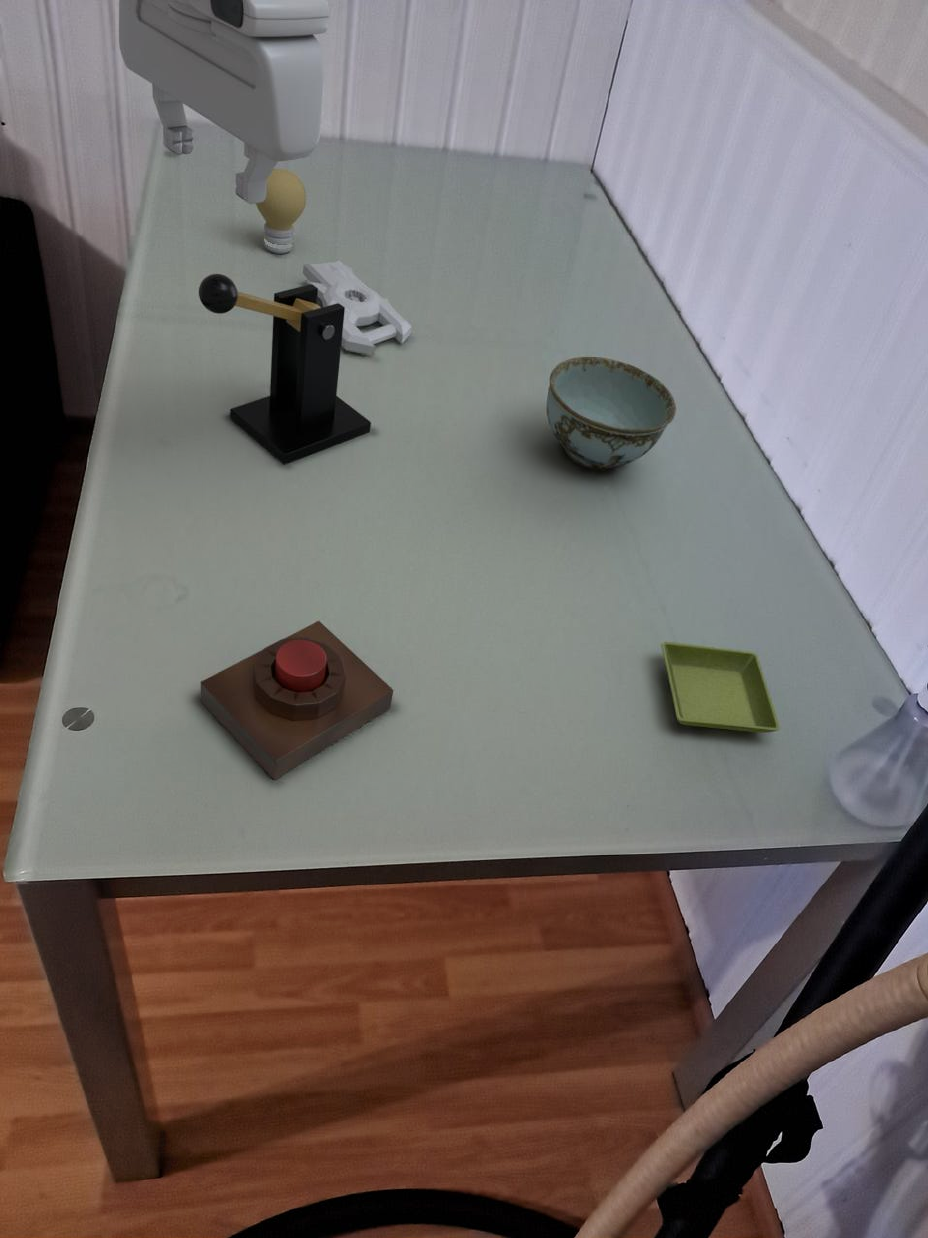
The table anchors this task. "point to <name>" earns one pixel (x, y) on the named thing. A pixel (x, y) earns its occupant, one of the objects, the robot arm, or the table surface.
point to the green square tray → (718, 688)
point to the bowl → (606, 411)
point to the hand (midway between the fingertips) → (213, 174)
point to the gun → (356, 307)
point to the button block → (295, 702)
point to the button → (300, 665)
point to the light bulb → (282, 208)
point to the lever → (247, 301)
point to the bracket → (303, 386)
